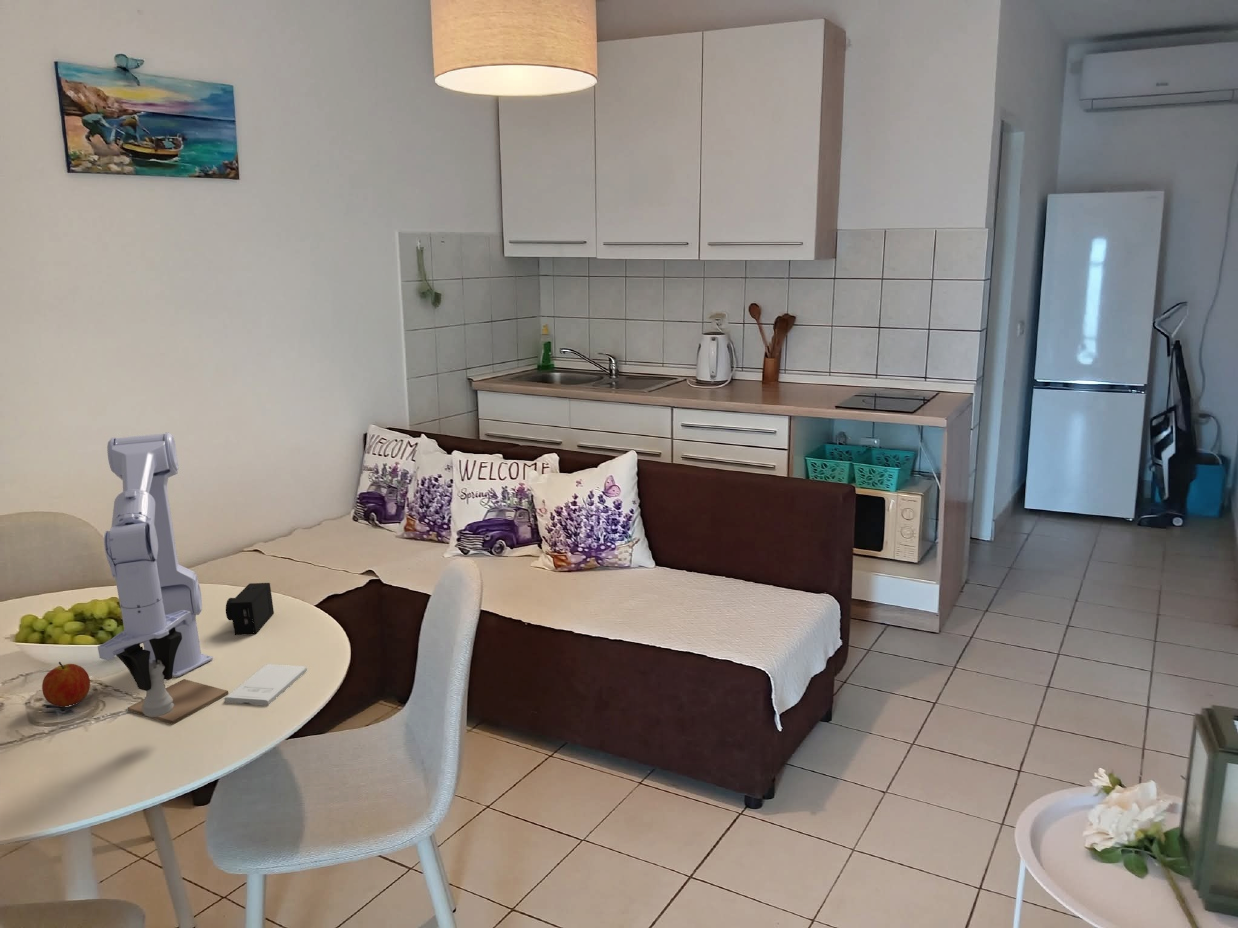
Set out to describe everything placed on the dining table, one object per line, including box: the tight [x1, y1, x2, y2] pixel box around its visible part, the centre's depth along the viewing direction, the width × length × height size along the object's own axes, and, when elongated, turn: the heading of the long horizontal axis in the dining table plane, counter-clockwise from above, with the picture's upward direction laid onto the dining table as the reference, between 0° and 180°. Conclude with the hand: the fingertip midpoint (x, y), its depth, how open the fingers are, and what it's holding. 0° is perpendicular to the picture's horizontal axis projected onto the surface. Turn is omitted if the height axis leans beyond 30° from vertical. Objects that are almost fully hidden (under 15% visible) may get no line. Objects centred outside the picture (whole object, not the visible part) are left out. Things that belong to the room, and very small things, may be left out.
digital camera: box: [225, 582, 275, 636], centre depth 189 cm, size 10×5×7 cm, turn 1°
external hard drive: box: [223, 663, 308, 706], centre depth 163 cm, size 2×8×12 cm
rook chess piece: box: [142, 660, 174, 718], centre depth 145 cm, size 4×4×8 cm
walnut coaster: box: [127, 678, 229, 725], centre depth 158 cm, size 11×11×1 cm
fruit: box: [41, 661, 91, 708], centre depth 158 cm, size 7×7×8 cm
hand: (155, 683), depth 145 cm, fingers closed on rook chess piece, 3 cm apart
